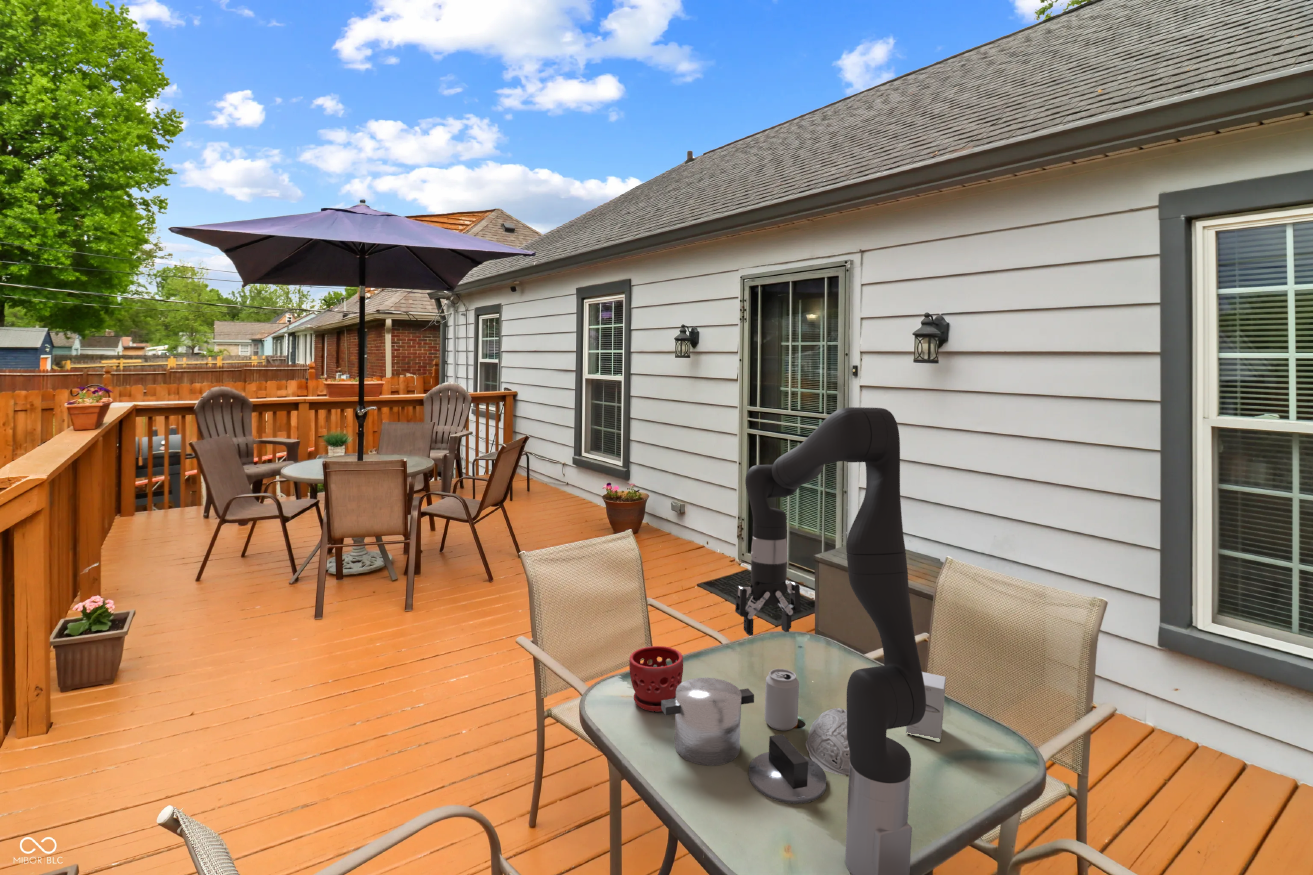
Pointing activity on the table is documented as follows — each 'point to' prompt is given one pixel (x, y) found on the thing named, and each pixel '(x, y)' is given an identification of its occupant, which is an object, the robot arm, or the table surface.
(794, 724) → the can
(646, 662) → the plant pot
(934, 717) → the supplement box
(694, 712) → the cooker
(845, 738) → the grey oval domed piece
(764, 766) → the lid
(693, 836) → the table surface
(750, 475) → the robot arm
